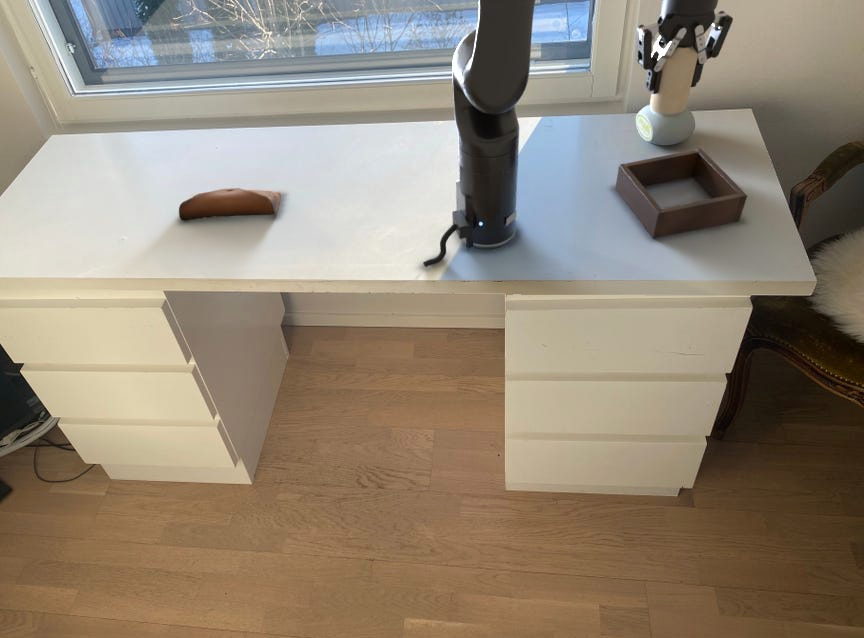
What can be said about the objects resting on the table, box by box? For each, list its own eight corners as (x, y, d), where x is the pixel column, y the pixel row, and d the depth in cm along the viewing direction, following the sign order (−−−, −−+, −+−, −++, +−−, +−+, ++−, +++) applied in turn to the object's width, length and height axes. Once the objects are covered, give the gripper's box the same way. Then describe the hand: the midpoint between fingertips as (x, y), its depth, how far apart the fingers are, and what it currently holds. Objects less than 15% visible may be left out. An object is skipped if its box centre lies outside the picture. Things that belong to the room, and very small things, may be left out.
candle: (687, 115, 112) (702, 51, 105) (650, 114, 113) (662, 51, 106) (684, 97, 116) (699, 35, 108) (648, 97, 117) (660, 35, 110)
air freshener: (629, 127, 141) (637, 78, 134) (669, 120, 142) (679, 70, 134) (653, 156, 134) (664, 105, 126) (696, 147, 134) (708, 97, 127)
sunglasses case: (282, 190, 137) (273, 174, 130) (281, 224, 135) (272, 210, 129) (190, 196, 139) (177, 180, 132) (189, 230, 137) (175, 216, 131)
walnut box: (652, 238, 118) (658, 213, 114) (615, 189, 128) (619, 164, 124) (739, 220, 118) (747, 195, 115) (695, 173, 129) (701, 148, 125)
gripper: (730, -45, 103) (703, 70, 115) (635, -29, 102) (617, 85, 114) (759, -27, 98) (726, 91, 110) (658, -10, 97) (637, 107, 109)
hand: (671, 88), depth 112 cm, fingers closed on candle, 5 cm apart
